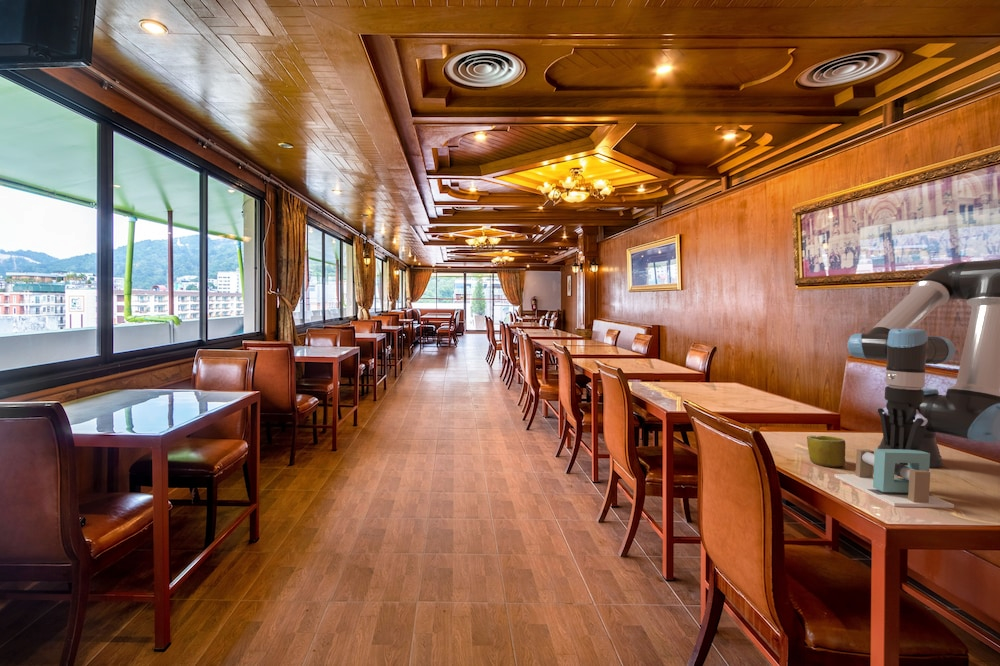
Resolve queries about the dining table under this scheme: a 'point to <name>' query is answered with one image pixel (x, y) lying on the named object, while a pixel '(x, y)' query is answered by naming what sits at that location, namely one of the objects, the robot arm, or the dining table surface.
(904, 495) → the pipe rail
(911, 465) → the collar
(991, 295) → the robot arm
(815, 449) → the mug
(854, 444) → the dining table surface
